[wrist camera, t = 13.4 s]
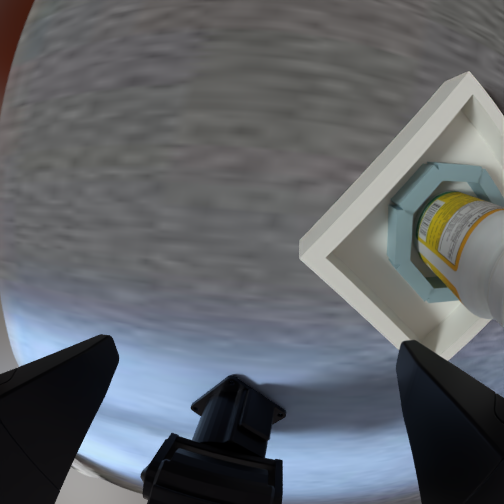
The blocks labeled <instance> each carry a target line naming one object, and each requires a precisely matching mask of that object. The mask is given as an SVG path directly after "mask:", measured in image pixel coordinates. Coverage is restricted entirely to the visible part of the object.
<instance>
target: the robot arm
mask: <svg viewBox="0 0 504 504" xmlns="http://www.w3.org/2000/svg"><path fill="white" fill-rule="evenodd" d="M118 363H119V354H118V351H117V349H116V346H115V343H114V340H113V338H112V337H111V336H110V335H103V334H101V335H98V336H95V337H93V338H90V339H88V340H85V341H83V342H80V343H78V344H75V345H73V346H71V347H68V348H66V349H63V350H61V351H58V352H56V353H53V354H51V355H48V356H46V357H43V358H41V359H38V360H36V361H33V362H30V363H28V364H25V365H23V366H20V367H18V368H15V369H13V370H10V371H7V372H5V373H2V374H0V504H55V502H56V499H57V497H58V494H59V492H60V489H61V487H62V485H63V483H64V480H65V478H66V476H67V474H68V472H69V469H70V467H71V465H72V463H73V461H74V458H75V456H76V454H77V452H78V450H79V448H80V446H81V444H82V442H83V440H84V437H85V435H86V433H87V431H88V429H89V427H90V425H91V423H92V421H93V419H94V417H95V415H96V413H97V411H98V409H99V407H100V405H101V403H102V401H103V399H104V397H105V395H106V393H107V390H108V388H109V385H110V383H111V380H112V378H113V375H114V373H115V370H116V368H117V365H118ZM396 372H397V379H398V385H399V391H400V398H401V406H402V412H403V417H404V421H405V425H406V429H407V433H408V438H409V442H410V446H411V451H412V455H413V460H414V465H415V469H416V474H417V480H418V485H419V491H420V496H421V502H422V504H504V398H503V397H502V396H500V395H499V394H495V392H494V391H493V390H491V389H490V388H488V387H487V386H485V385H484V384H482V383H481V382H479V381H478V380H476V379H475V378H473V377H471V376H470V375H468V374H467V373H465V372H464V371H462V370H461V369H459V368H458V367H456V366H455V365H453V364H452V363H450V362H449V361H447V360H446V359H444V358H442V357H441V356H439V355H438V354H436V353H435V352H433V351H432V350H430V349H429V348H427V347H426V346H424V345H422V344H421V343H419V342H418V341H416V340H406V341H403V342H402V343H401V345H400V349H399V354H398V359H397V363H396ZM231 381H233V382H231ZM191 410H193V411H194V412H195V413H197V414H198V415H200V416H201V418H200V421H199V423H198V426H197V428H196V431H195V434H194V436H193V439H192V440H190V439H186V438H183V437H180V436H179V435H177V434H174V433H171V435H170V436H169V438H168V439H166V440H165V441H164V443H163V444H162V446H161V447H160V449H159V450H158V452H157V453H156V455H155V456H154V458H153V460H152V461H151V463H150V464H149V465H148V466H147V467H146V468H145V469H144V470H143V471H142V473H141V479H142V481H143V482H144V484H143V498H144V499H147V500H148V503H147V504H282V495H283V460H279V459H275V460H273V459H267V458H265V455H266V449H267V443H268V440H269V439H270V434H271V428H272V425H273V424H274V423H276V422H278V421H280V420H281V419H283V418H285V417H286V411H285V410H284V409H283V408H281V407H280V406H278V405H277V404H275V403H274V402H272V401H270V400H269V399H267V398H266V397H264V396H263V395H261V394H260V393H259V392H257V391H256V390H254V389H253V388H251V387H250V386H248V385H247V384H245V383H244V382H243V381H241V380H240V379H238V378H237V377H235V376H232V375H230V376H228V377H226V378H225V379H224V380H222V381H221V382H220V383H219V384H217V385H216V386H215V387H213V388H212V389H211V390H210V391H208V392H207V393H206V394H204V395H203V396H202V397H200V398H199V399H198V400H196V401H195V402H194V403H192V405H191ZM279 413H281V414H279Z"/></svg>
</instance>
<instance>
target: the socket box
mask: <svg viewBox="0 0 504 504" xmlns="http://www.w3.org/2000/svg"><path fill="white" fill-rule="evenodd" d="M449 190H452V191H457V192H461V193H464V194H467V195H470V196H473V197H476V198H479V199H481V200H484V201H487V202H490V203H493V204H496V205H499V206H501V207H504V116H503V114H502V113H501V111H500V110H499V109H498V107H497V106H496V104H495V103H494V102H493V100H492V99H491V98H490V96H489V95H488V94H487V92H486V91H485V90H484V88H483V87H482V86H481V85H480V83H479V82H478V81H477V80H476V79H475V77H474V76H473V75H472V74H471V73H470V71H468V72H466V73H463V74H461V75H459V76H456V77H454V78H452V79H449V80H447V81H445V82H444V83H443V84H442V85H441V86H440V88H439V89H438V90H437V91H436V92H435V93H434V94H433V96H432V97H431V98H430V99H429V100H428V101H427V102H426V104H425V105H424V106H423V107H422V108H421V109H420V110H419V112H418V113H417V114H416V115H415V116H414V117H413V118H412V119H411V121H410V122H409V123H408V124H407V125H406V126H405V127H404V128H403V129H402V131H401V132H400V133H399V134H398V135H397V136H396V137H395V138H394V139H393V141H392V142H391V143H390V144H389V145H388V146H387V147H386V148H385V149H384V151H383V152H382V153H381V154H380V155H379V156H378V157H377V158H376V159H375V160H374V161H373V163H372V164H371V165H370V166H369V167H368V168H367V169H366V170H365V171H364V172H363V173H362V174H361V176H360V177H359V178H358V179H357V180H356V181H355V182H354V183H353V184H352V185H351V186H350V187H349V188H348V190H347V191H346V192H345V193H344V194H343V195H342V196H341V197H340V198H339V199H338V200H337V201H336V202H335V203H334V204H333V206H332V207H331V208H330V209H329V210H328V211H327V212H326V213H325V214H324V215H323V216H322V217H321V218H320V219H319V220H318V221H317V222H316V223H315V225H314V226H313V227H312V228H311V229H310V230H309V231H308V232H307V233H306V234H305V235H304V236H303V237H302V238H301V239H300V240H299V259H300V260H301V261H302V262H304V263H305V264H306V265H307V266H308V267H309V268H310V269H311V270H312V271H314V272H315V273H316V274H317V275H318V276H319V277H320V278H321V279H322V280H324V281H325V282H326V283H327V284H328V285H329V286H330V287H331V288H332V289H334V290H335V291H336V292H337V293H338V294H339V295H340V296H341V297H342V298H343V299H345V300H346V301H347V302H348V303H349V304H350V305H351V306H352V307H353V308H354V309H355V310H357V311H358V312H359V313H360V314H361V315H362V316H363V317H364V318H365V319H366V320H367V321H368V322H369V323H371V324H372V325H373V326H374V327H375V328H376V329H377V330H378V331H379V332H380V333H381V334H382V335H383V336H384V337H386V338H387V339H388V340H389V341H390V342H391V343H392V344H393V345H394V346H395V347H396V348H397V349H398V350H399V349H400V345H401V343H402V342H403V341H406V340H416V341H418V342H419V343H421V344H422V345H424V346H426V347H427V348H429V349H430V350H432V351H433V352H435V353H436V354H438V355H439V356H441V357H442V358H444V359H446V360H447V361H448V360H449V359H450V358H452V357H453V356H454V355H455V354H456V353H457V352H458V351H459V350H461V349H462V348H463V347H464V346H465V345H466V344H467V343H468V342H469V341H470V340H471V339H472V338H473V337H474V336H475V335H476V334H477V333H478V332H480V331H481V330H482V329H483V328H484V327H485V325H486V324H487V323H488V322H489V321H490V320H491V319H484V318H480V317H478V316H476V315H474V314H473V313H471V312H470V311H469V310H468V309H467V308H466V307H465V306H464V305H463V304H462V303H461V302H460V301H459V299H458V298H457V297H456V296H455V295H454V294H453V293H452V291H451V290H450V289H449V288H448V287H447V286H446V285H445V284H444V283H443V282H442V281H441V279H440V278H439V277H438V276H437V275H436V274H435V273H434V272H433V271H432V270H431V269H430V268H429V267H428V266H427V265H426V264H425V263H424V262H423V261H422V259H421V258H420V256H419V255H418V253H417V250H416V248H415V244H414V224H415V220H416V218H417V215H418V213H419V211H420V209H421V207H422V206H423V205H424V204H425V202H426V201H427V200H428V199H429V198H431V197H432V196H434V195H435V194H437V193H440V192H443V191H449Z"/></svg>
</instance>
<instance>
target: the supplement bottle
mask: <svg viewBox="0 0 504 504" xmlns="http://www.w3.org/2000/svg"><path fill="white" fill-rule="evenodd" d="M414 244H415V248H416V250H417V253H418V255H419V256H420V258H421V259H422V261H423V262H424V263H425V264H426V265H427V266H428V267H429V268H430V269H431V270H432V271H433V272H434V273H435V274H436V275H437V276H438V277H439V278H440V279H441V281H442V282H443V283H444V284H445V285H446V286H447V287H448V288H449V289H450V290H451V291H452V293H453V294H454V295H455V296H456V297H457V298H458V299H459V301H460V302H461V303H462V304H463V305H464V306H465V307H466V308H467V309H468V310H469V311H470V312H471V313H473V314H474V315H476V316H478V317H480V318H484V319H495V320H496V321H497V322H498V323H499V324H500V325H501V326H502V327H503V328H504V207H501V206H499V205H496V204H493V203H490V202H487V201H484V200H481V199H479V198H476V197H473V196H470V195H467V194H464V193H461V192H457V191H452V190H449V191H443V192H440V193H437V194H435V195H434V196H432V197H431V198H429V199H428V200H427V201H426V202H425V204H424V205H423V206H422V207H421V209H420V211H419V213H418V215H417V218H416V220H415V224H414Z"/></svg>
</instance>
